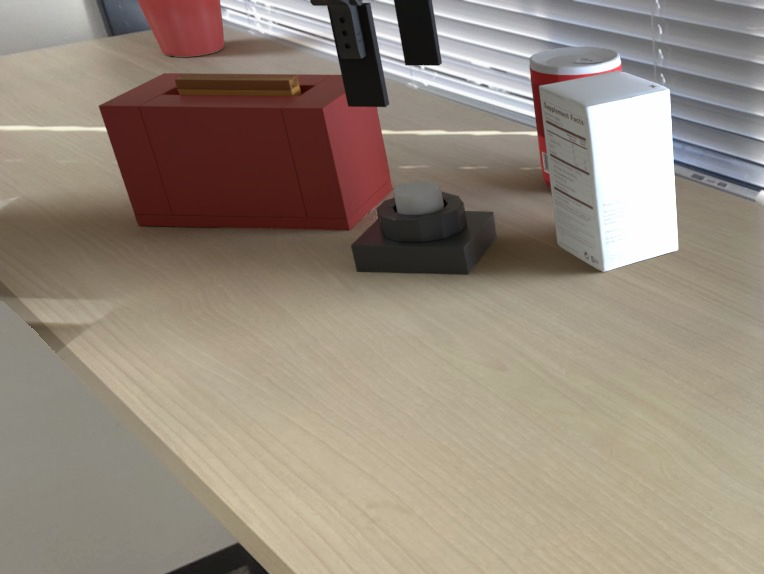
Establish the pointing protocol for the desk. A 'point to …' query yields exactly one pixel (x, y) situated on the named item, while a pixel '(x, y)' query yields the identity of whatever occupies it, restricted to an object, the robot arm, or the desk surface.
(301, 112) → the toaster
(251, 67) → the desk surface
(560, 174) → the white packaging box
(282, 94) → the toast
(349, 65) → the robot arm
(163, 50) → the flower pot
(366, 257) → the button block
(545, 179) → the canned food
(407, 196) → the button
